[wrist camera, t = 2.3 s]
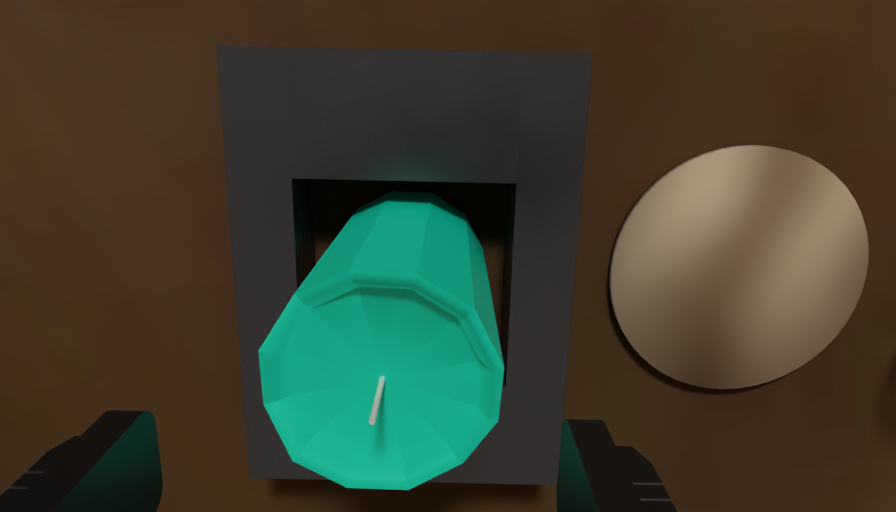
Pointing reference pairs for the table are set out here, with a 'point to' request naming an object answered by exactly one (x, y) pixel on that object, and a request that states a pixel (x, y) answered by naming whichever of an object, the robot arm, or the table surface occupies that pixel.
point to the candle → (388, 349)
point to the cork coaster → (738, 266)
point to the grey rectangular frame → (412, 159)
